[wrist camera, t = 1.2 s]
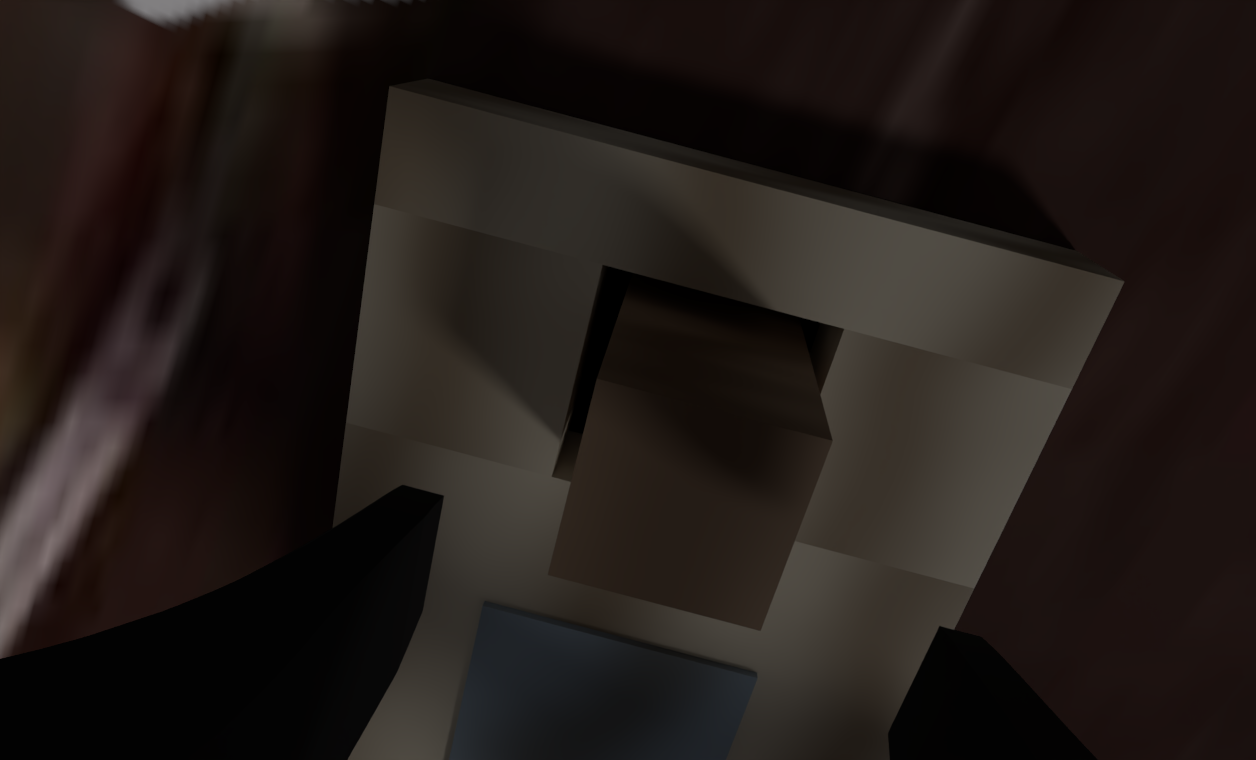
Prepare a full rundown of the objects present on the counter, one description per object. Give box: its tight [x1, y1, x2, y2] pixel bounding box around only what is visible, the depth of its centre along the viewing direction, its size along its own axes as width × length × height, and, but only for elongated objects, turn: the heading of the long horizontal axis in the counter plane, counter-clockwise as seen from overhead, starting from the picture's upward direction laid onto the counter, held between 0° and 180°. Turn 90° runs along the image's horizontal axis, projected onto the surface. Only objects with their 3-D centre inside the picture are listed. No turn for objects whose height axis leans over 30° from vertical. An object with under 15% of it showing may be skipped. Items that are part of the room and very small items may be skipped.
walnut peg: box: [548, 273, 833, 631], centre depth 18 cm, size 4×4×7 cm
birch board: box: [333, 79, 1124, 760], centre depth 22 cm, size 15×20×3 cm
